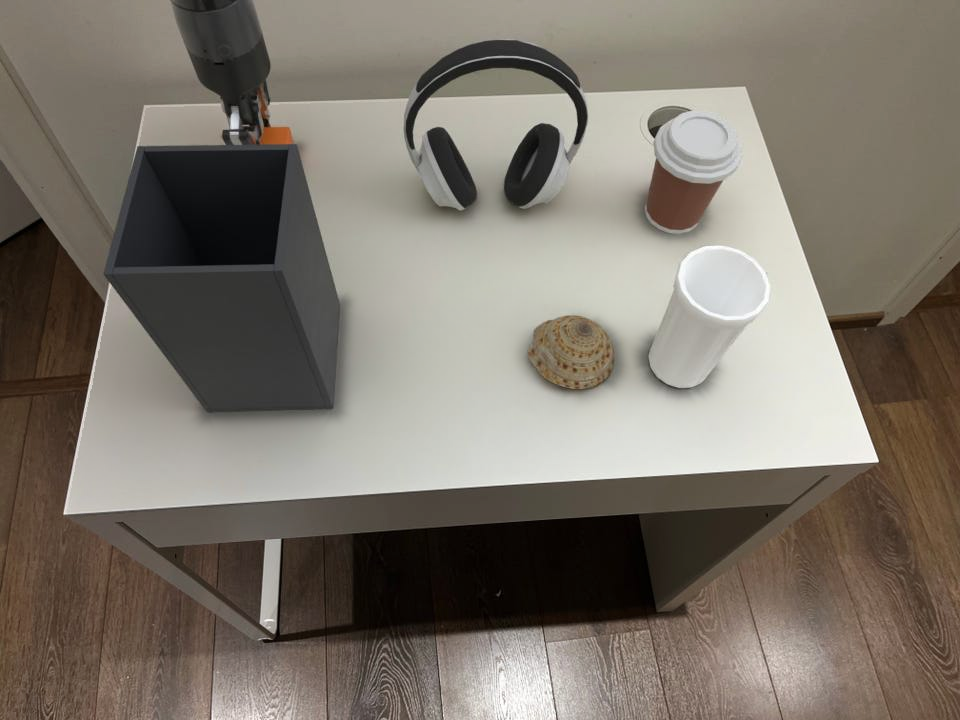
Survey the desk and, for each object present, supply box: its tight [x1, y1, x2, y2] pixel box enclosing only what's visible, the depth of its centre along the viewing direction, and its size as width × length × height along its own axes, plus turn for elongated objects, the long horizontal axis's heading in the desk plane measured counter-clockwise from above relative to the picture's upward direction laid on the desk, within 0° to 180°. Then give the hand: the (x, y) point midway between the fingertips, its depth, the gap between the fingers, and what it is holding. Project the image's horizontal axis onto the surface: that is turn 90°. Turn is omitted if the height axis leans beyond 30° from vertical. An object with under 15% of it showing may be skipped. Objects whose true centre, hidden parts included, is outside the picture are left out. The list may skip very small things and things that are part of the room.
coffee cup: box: [644, 109, 743, 235], centre depth 76 cm, size 9×9×12 cm
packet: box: [228, 126, 295, 145], centre depth 82 cm, size 7×4×4 cm, turn 92°
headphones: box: [403, 38, 589, 211], centre depth 73 cm, size 19×8×20 cm, turn 95°
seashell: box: [527, 314, 615, 390], centre depth 71 cm, size 8×6×8 cm
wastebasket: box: [103, 143, 341, 413], centre depth 61 cm, size 12×12×23 cm
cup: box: [648, 245, 772, 389], centre depth 66 cm, size 8×8×14 cm
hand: (264, 159), depth 84 cm, fingers closed on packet, 4 cm apart
